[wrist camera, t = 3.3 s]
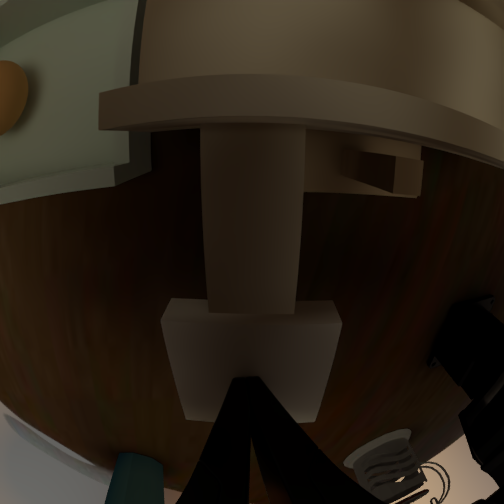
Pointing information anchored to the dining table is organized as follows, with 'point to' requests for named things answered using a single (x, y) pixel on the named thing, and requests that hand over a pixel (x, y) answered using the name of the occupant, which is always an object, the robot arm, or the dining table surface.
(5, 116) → the ball
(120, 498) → the cup
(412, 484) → the french press
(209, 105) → the lever
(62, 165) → the tray
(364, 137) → the stand
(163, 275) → the dining table surface
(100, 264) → the dining table surface
